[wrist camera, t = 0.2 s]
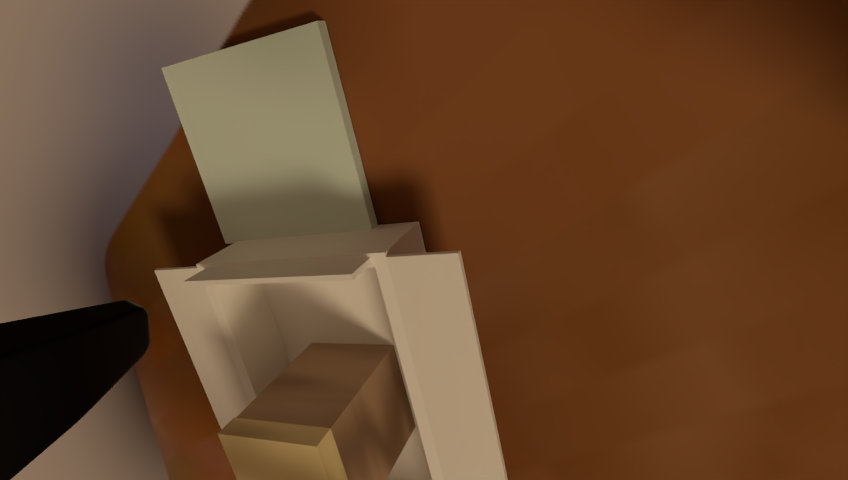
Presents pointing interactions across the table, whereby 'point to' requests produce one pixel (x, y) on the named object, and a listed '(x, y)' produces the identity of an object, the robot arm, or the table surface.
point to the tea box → (325, 418)
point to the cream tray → (346, 332)
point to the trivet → (273, 137)
